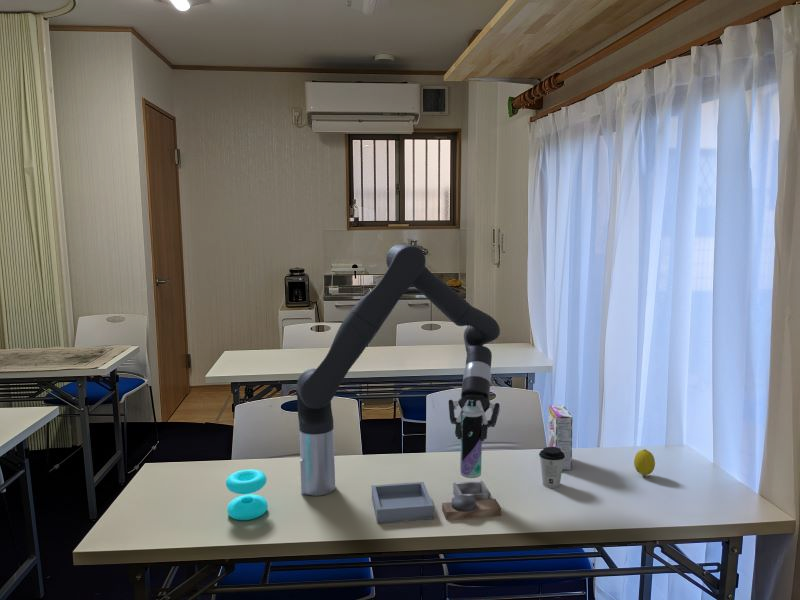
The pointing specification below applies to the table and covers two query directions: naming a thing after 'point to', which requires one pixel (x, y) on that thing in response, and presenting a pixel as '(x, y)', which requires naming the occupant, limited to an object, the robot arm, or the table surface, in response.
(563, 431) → the candy bar box
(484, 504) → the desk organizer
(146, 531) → the table surface
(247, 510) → the donuts
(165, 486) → the table surface
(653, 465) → the lemon
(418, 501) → the tray
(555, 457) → the coffee cup
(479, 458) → the spray can
